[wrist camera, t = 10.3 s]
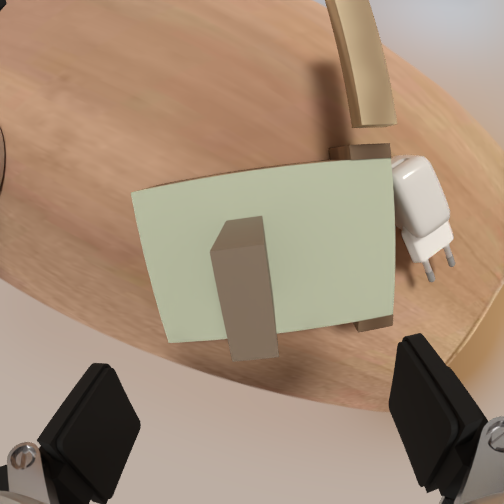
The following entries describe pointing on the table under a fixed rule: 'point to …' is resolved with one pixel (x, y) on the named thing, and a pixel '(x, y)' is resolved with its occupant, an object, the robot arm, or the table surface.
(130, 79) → the table surface
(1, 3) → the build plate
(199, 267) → the lid
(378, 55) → the tan rectangular block
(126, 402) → the robot arm
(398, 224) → the power adapter
